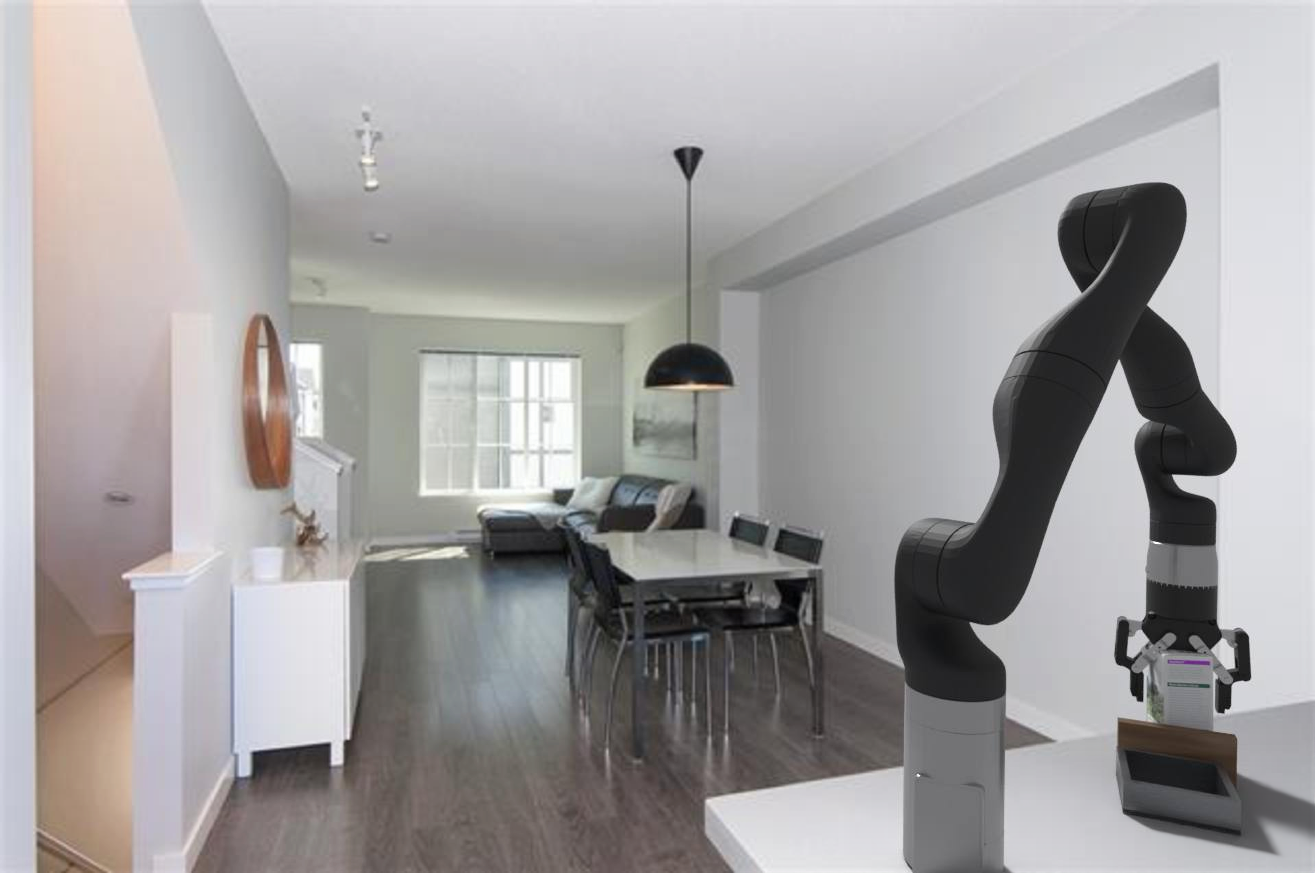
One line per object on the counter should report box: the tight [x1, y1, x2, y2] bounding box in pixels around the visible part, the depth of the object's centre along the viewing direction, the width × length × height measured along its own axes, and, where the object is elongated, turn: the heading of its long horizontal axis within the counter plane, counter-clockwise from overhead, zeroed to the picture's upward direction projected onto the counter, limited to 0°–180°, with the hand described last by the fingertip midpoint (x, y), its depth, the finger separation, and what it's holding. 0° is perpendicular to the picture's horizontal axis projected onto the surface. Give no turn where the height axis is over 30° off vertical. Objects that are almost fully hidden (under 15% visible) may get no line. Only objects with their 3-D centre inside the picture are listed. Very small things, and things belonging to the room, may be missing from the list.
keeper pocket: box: [1115, 745, 1242, 836], centre depth 90 cm, size 11×11×4 cm
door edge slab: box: [1116, 716, 1238, 791], centre depth 96 cm, size 2×12×6 cm, turn 64°
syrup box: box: [1145, 644, 1214, 731], centre depth 100 cm, size 6×6×14 cm
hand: (1179, 705), depth 100 cm, fingers open, 8 cm apart
